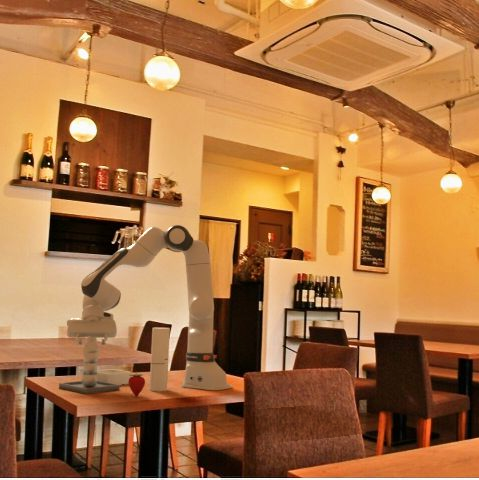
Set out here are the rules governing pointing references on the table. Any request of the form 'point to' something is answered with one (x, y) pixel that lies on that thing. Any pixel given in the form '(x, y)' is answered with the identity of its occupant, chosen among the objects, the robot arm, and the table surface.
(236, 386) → the table surface
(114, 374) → the collar holder
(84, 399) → the table surface
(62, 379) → the table surface
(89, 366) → the plastic bottle
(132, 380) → the strawberry
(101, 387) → the grey tray
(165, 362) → the white toy refrigerator
